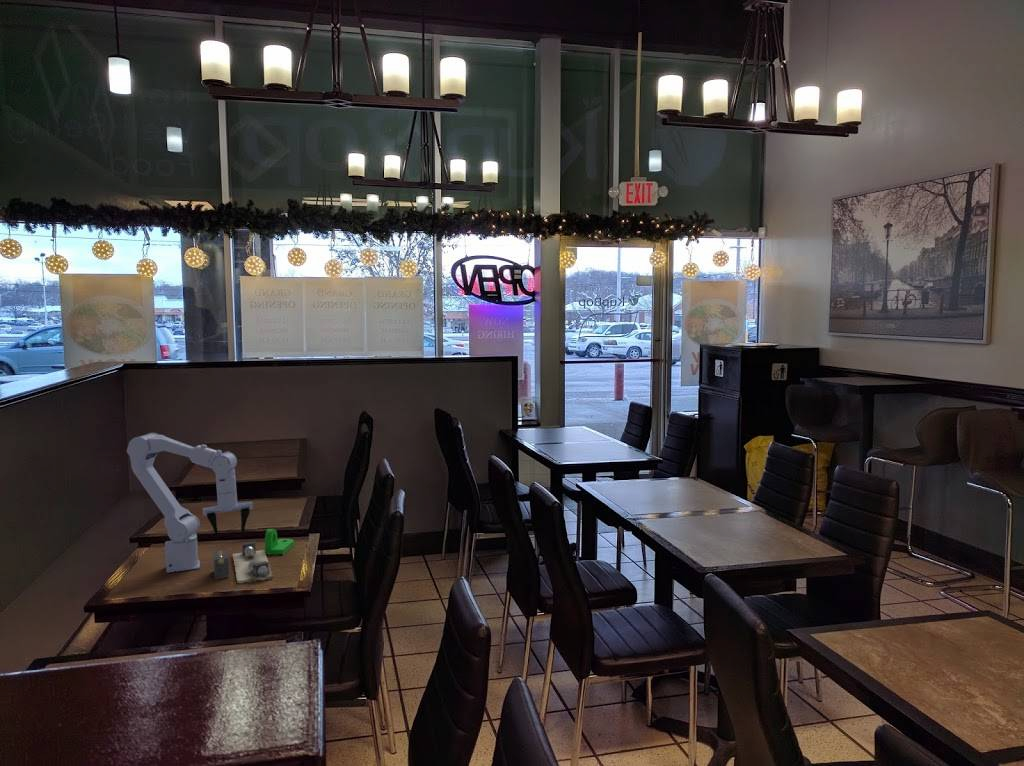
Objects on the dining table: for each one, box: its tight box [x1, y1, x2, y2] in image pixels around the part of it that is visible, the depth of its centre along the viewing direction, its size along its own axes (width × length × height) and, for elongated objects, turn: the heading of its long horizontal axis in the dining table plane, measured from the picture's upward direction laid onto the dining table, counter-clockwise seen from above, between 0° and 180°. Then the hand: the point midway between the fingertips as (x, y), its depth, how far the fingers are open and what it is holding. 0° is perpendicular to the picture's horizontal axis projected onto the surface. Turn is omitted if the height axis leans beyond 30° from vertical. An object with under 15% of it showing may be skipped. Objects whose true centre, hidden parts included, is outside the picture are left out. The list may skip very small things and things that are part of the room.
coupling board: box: [232, 549, 274, 584], centre depth 233 cm, size 10×28×1 cm, turn 23°
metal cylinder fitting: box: [241, 541, 257, 559], centre depth 242 cm, size 8×4×4 cm, turn 23°
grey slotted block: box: [212, 550, 230, 580], centre depth 226 cm, size 4×9×6 cm, turn 23°
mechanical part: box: [264, 528, 295, 555], centre depth 250 cm, size 12×6×8 cm, turn 176°
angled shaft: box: [248, 561, 270, 577], centre depth 224 cm, size 8×4×4 cm, turn 43°
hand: (229, 534), depth 232 cm, fingers open, 7 cm apart
